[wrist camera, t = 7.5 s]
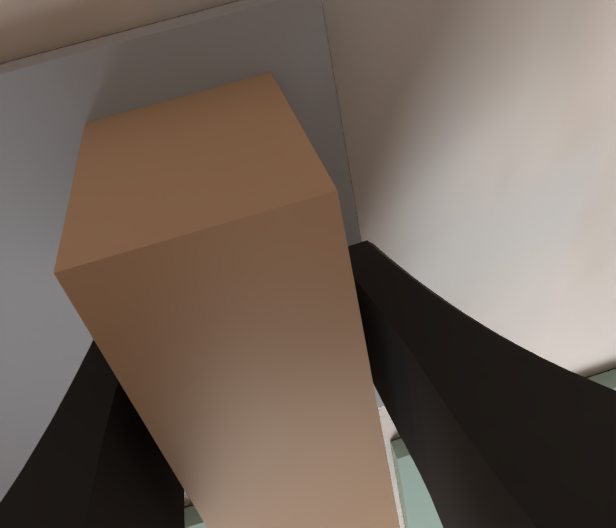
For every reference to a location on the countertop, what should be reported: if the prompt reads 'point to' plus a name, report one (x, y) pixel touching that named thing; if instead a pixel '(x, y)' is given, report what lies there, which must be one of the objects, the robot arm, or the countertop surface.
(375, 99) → the countertop surface
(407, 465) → the pair of green tiles
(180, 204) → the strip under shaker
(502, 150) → the countertop surface
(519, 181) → the countertop surface
